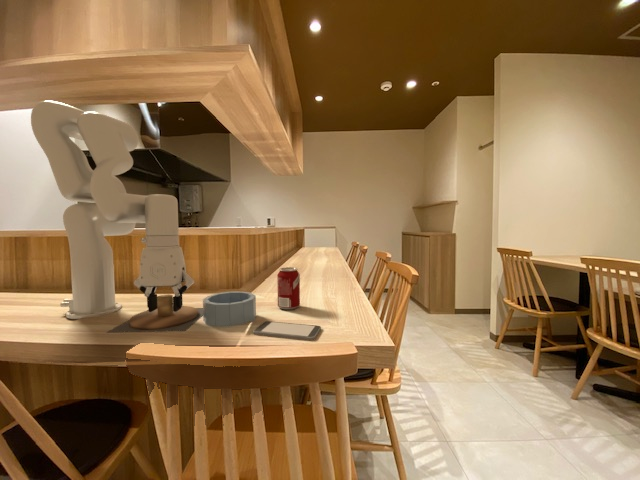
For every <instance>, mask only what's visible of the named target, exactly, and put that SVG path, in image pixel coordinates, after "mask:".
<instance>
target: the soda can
mask: <svg viewBox="0 0 640 480" xmlns="http://www.w3.org/2000/svg"><path fill="white" fill-rule="evenodd" d="M278 269H279V271H278V272H277V273H278V274H277V276H276V277H277V283H276V284H277V307H278V308H280V309H281V310H284V311H291V310H296V309H297V308H299V307H300V306H301V303H300V302H301V291H300V290H301V289H300V288H301V287H300V286H301V285H300V283H301V281H300V279H301V278H300V277H301V276H300V272H299V270H298V268H297V267H291V266H290V267H280V268H278Z"/></svg>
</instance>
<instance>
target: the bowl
mask: <svg viewBox="0 0 640 480" xmlns="http://www.w3.org/2000/svg"><path fill="white" fill-rule="evenodd" d="M256 296H257V295H256V294H254V293H252V292H247V291H224V292H218V293H214V294H210V295H207V296H205V297H204V298H203V299H202V308H203V316H202V318H203V323H205V325H207V326H211V327H215V328H217V327H218V328H220V327H223V328H224V327H226V328H227V327H234V326H235V327H236V326H240V325H244V324H246V323H247V324H248V323H249V324H251V323H253V322H255V320H256V318H257V300H256V299H257V297H256Z"/></svg>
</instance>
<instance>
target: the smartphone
mask: <svg viewBox="0 0 640 480" xmlns="http://www.w3.org/2000/svg"><path fill="white" fill-rule="evenodd" d="M321 331H322V326H321V325H316V324H315V325H314V324H306V323H295V322H283V321H272V320H266V321H263V322H262V323H260V324H259V325H258V326H257V327H255V328H254V329H253V330H252V334H253V335H254V336H264V337H272V338H282V339H292V340H301V341H312V342H313V341H315V340H316V339H317V337H318V335H319V334H320V332H321Z"/></svg>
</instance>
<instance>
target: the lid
mask: <svg viewBox="0 0 640 480" xmlns="http://www.w3.org/2000/svg"><path fill="white" fill-rule="evenodd" d="M173 297H174V295H173V294H168V293H167V294H159V295H157V309H156V310H154V311H152V312H149V311H148V309H147V310H144V311H142V312H139V313H136V314H135V315H133V316H131V317H130V318H129V319H128V320H129V326H130V327H132V328H134V329H140V330H155V329H164V328H170V327H174V326H178V325H182V324H185V323H188V322H190V321H192V320H194V319H195V318H197V317H198V309H197V308H198V307H193V306H190V305H182V307H181V309H179V310H178V311H176V312H174V311H173Z"/></svg>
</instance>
